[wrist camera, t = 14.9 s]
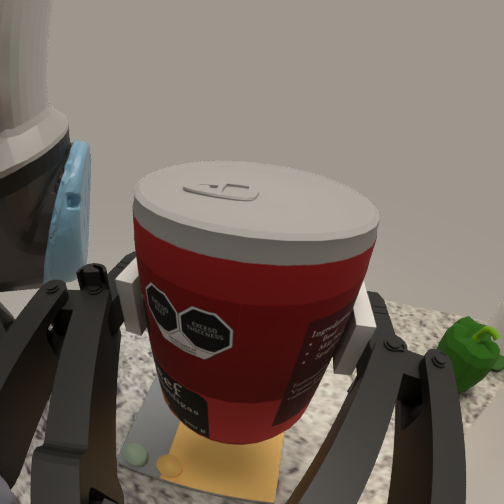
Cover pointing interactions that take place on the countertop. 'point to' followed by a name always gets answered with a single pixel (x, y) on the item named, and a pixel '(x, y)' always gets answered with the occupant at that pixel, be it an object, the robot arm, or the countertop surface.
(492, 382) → the countertop surface
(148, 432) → the panel
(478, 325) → the bell pepper
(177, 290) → the canned food
